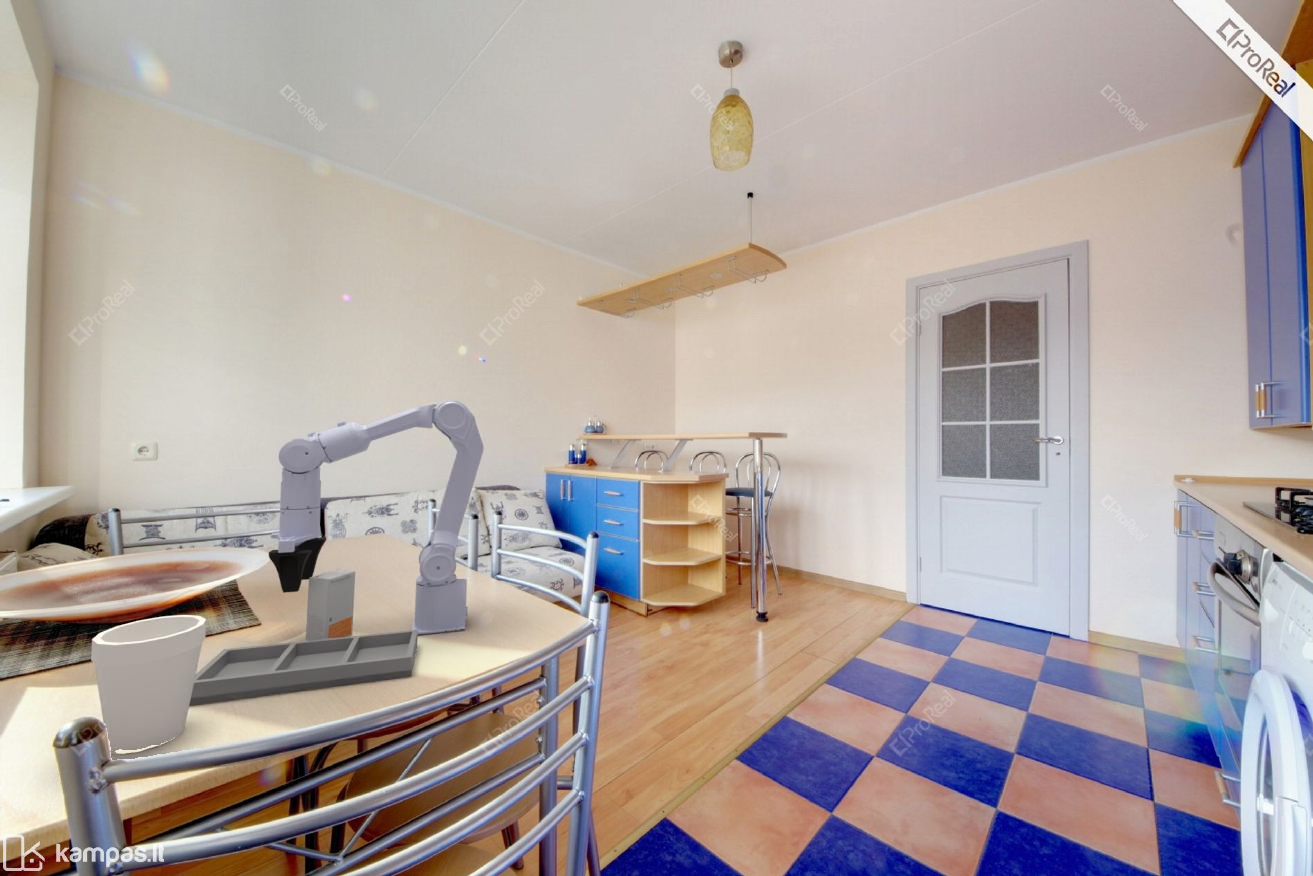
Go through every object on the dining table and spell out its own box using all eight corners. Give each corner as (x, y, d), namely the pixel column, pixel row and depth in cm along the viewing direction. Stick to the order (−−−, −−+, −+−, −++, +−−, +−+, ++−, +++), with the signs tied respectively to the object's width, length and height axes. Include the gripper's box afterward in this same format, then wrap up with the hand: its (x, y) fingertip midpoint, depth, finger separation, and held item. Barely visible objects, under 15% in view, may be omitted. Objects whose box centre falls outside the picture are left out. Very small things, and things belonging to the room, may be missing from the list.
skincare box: (325, 649, 84) (328, 579, 84) (304, 646, 85) (307, 577, 85) (354, 635, 90) (356, 570, 90) (334, 633, 91) (336, 568, 91)
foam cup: (170, 710, 64) (175, 611, 65) (220, 724, 62) (224, 620, 62) (66, 753, 55) (72, 637, 55) (119, 771, 53) (124, 650, 53)
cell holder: (417, 646, 86) (417, 629, 86) (410, 676, 75) (411, 656, 75) (223, 668, 76) (224, 649, 76) (183, 706, 65) (184, 684, 65)
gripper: (286, 502, 91) (284, 576, 91) (256, 514, 78) (253, 600, 77) (331, 502, 94) (329, 573, 94) (309, 512, 80) (306, 596, 80)
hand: (298, 585), depth 86 cm, fingers open, 7 cm apart
